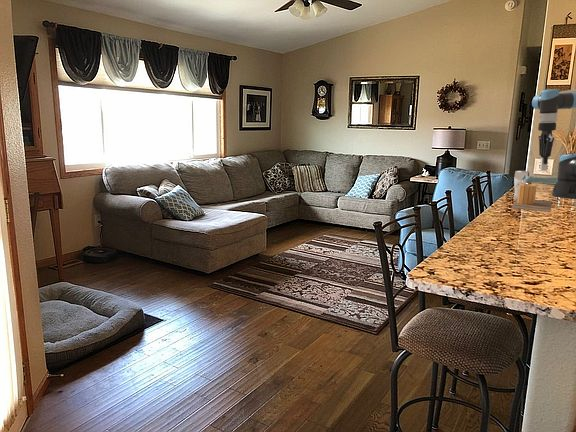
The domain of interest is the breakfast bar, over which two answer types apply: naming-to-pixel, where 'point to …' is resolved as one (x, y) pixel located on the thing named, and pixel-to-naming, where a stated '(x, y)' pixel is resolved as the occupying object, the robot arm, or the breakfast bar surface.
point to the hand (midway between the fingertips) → (543, 170)
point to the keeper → (541, 179)
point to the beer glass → (519, 180)
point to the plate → (534, 206)
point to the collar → (526, 194)
